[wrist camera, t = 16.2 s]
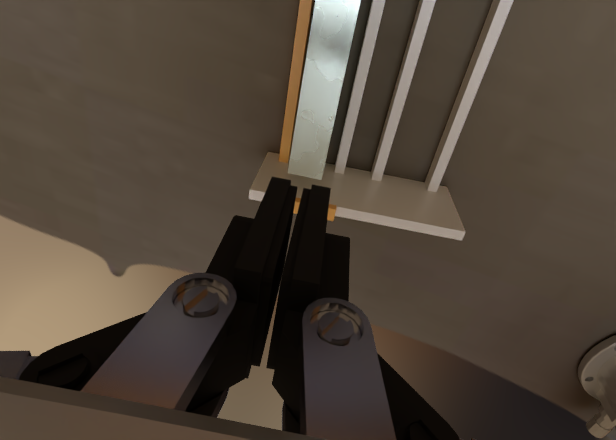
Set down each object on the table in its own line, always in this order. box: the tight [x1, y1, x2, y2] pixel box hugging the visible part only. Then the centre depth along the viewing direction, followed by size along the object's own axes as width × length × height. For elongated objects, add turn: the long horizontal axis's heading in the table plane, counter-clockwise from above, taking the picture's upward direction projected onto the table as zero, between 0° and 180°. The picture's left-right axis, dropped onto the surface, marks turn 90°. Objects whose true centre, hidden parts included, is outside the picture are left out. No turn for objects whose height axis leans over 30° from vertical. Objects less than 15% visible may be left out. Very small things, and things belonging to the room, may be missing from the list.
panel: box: [288, 0, 361, 180], centre depth 27 cm, size 14×2×6 cm, turn 170°
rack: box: [249, 0, 514, 241], centre depth 26 cm, size 18×16×8 cm
